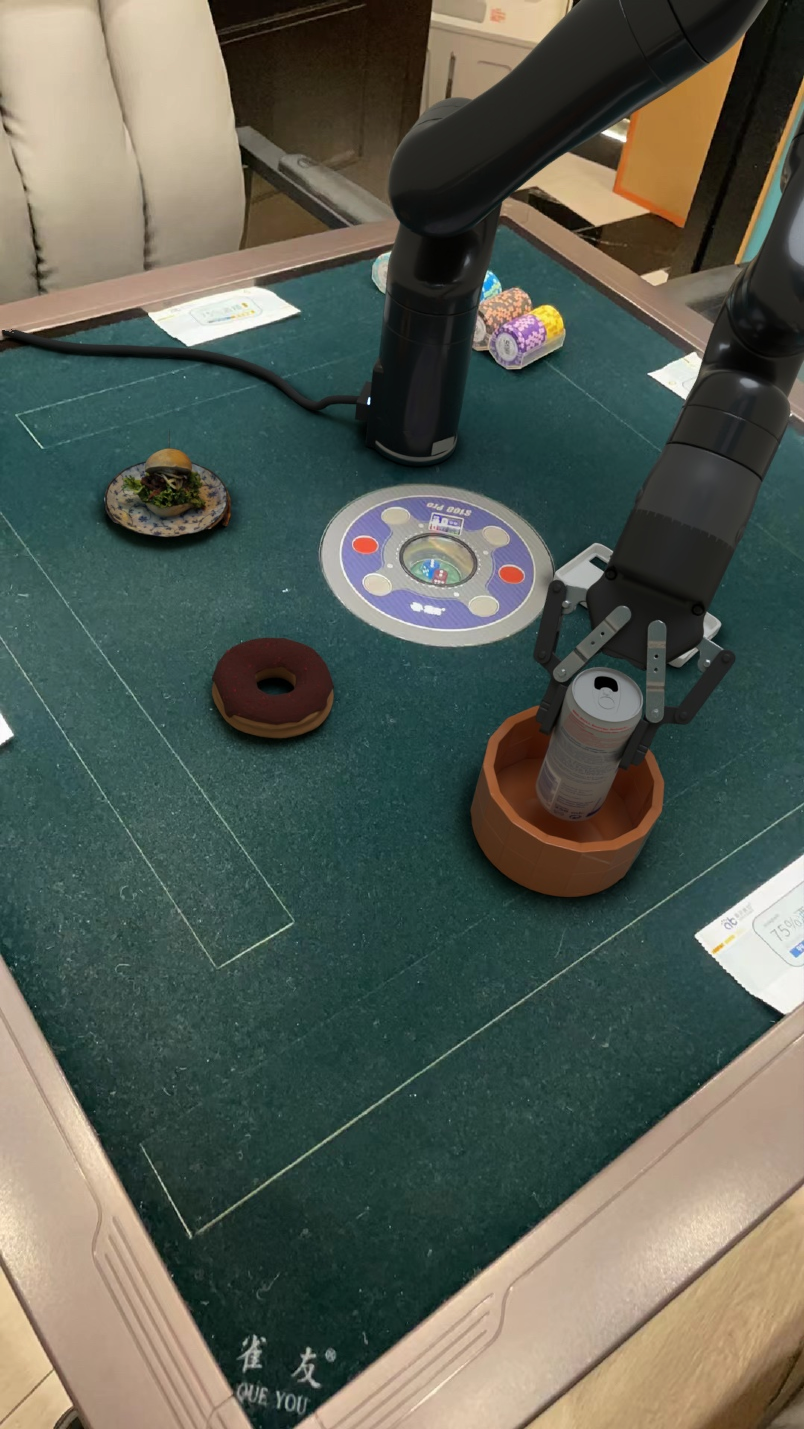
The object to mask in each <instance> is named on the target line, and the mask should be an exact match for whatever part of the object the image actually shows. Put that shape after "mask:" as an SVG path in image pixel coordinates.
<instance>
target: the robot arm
mask: <svg viewBox="0 0 804 1429" xmlns="http://www.w3.org/2000/svg"><path fill="white" fill-rule="evenodd" d="M768 1H769V0H579V1H578V2H577V3H576V4H575V5H574V6H573V7H572V8H571V9H570V10H569V11H568V12H567V13H566V14H565V15H564V16H563V17H562V18H561V19H560V20H559V21H557V23H556V24H555V25H554V26H553V27H552V28H551V29H550V31H548V32H547V33H546V35H545V36H543V38H542V39H541V40H540V41H539V42H538V43H537V44H536V45H535V47H534V48H533V49H532V50H531V51H530V52H529V53H528V54H527V55H526V56H525V57H524V59H522V60H521V62H519V63H518V64H517V65H516V66H515V67H514V68H513V69H512V70H511V71H509V72H508V74H506V75H505V76H504V77H503V78H501V79H500V80H499V81H497V82H496V83H495V84H494V85H492V86H491V87H490V88H488V89H487V90H486V91H483V93H481V94H479V95H478V96H476V97H474V98H473V99H472V98H469V97H462V96H455V97H454V96H453V97H449V98H444V99H442V100H440V101H438V102H436V103H434V104H433V105H431V106H430V107H428V108H427V109H425V110H424V112H423V113H422V114H421V115H420V116H419V117H418V118H417V120H416V121H415V122H414V124H413V125H412V126H411V128H410V129H409V130H408V132H406V134H405V136H403V138H402V140H401V141H400V142H399V144H398V146H397V147H396V150H395V152H394V154H393V157H392V159H391V162H390V166H389V170H388V176H387V195H388V201H389V205H390V208H391V211H392V213H393V214H394V216H395V218H396V219H397V221H398V222H399V224H398V228H397V231H396V236H395V239H394V242H393V245H392V248H391V251H390V254H389V257H388V262H387V268H386V269H387V271H386V280H385V291H384V292H385V293H384V303H383V311H382V322H381V332H380V342H379V349H378V350H379V352H378V356H377V358H376V360H375V362H374V365H373V367H372V374H371V381H368V380H366V381H365V382H364V385H363V387H362V389H361V391H360V393H359V395H347V394H335V395H328V396H325V397H324V398H321V399H320V400H319V401H316V400H311V399H309V398H306V397H304V396H303V395H302V394H300V393H299V392H298V391H297V390H295V389H294V388H293V387H292V386H291V385H290V384H289V383H288V382H287V381H286V380H284V379H283V378H282V377H281V376H279V375H278V374H276V373H275V372H273V371H271V370H269V369H267V368H265V367H262V366H261V365H258V364H256V363H253V362H250V361H247V360H245V359H241V358H239V357H236V356H231V355H227V354H223V353H218V352H213V351H209V350H203V349H197V348H189V347H188V348H187V347H175V346H174V347H171V346H146V345H131V344H100V343H99V344H97V343H95V344H94V343H93V344H92V343H79V342H71V341H70V342H69V341H63V340H58V339H53V338H48V337H43V336H39V335H36V334H32V333H29V332H27V331H26V332H25V331H22V330H19V329H15V330H12V329H13V328H12V329H11V330H12V331H11V332H9V331H5V330H2V329H1V335H2V336H4V337H7V338H11V339H14V340H15V339H16V340H19V341H23V342H26V343H29V344H32V345H36V346H40V347H45V348H49V349H52V350H59V351H64V352H65V351H66V352H74V353H81V354H106V355H107V354H108V355H109V354H110V355H112V354H113V355H137V356H139V355H140V356H157V357H159V356H161V357H178V358H179V357H181V358H192V359H200V360H205V361H209V362H210V361H211V362H216V363H220V364H225V365H229V366H232V367H235V368H239V369H241V370H245V371H248V372H250V373H252V374H255V375H257V376H260V377H262V378H264V379H266V380H268V381H270V382H272V383H273V384H274V385H276V386H277V387H278V388H279V389H281V391H283V392H284V393H285V394H286V396H288V397H289V398H290V399H292V400H293V401H294V402H295V403H297V404H298V405H299V406H301V407H303V408H305V409H308V410H311V411H322V410H324V409H326V408H327V407H330V406H332V405H355V413H354V414H355V415H354V421H359V422H363V423H366V424H367V426H366V434H365V446H366V447H368V448H372V449H375V450H376V451H377V452H378V453H379V454H380V455H382V456H383V457H384V458H387V459H388V460H390V461H392V462H396V463H398V464H402V465H407V466H415V467H425V466H426V467H427V466H432V465H436V464H439V463H442V462H443V461H445V460H447V459H448V458H450V457H451V456H452V455H453V454H454V452H455V450H456V447H457V441H458V432H459V424H460V418H461V413H462V407H463V403H464V396H465V391H466V385H467V379H468V374H469V368H470V364H471V363H470V362H471V357H472V351H473V346H474V340H475V334H476V327H477V322H478V316H479V312H480V305H481V300H482V299H481V298H482V293H483V289H484V283H485V280H486V276H487V274H488V269H489V266H490V263H491V260H492V256H493V252H494V249H495V248H494V247H495V241H496V237H497V233H498V226H499V221H500V216H501V212H502V206H503V202H504V201H506V199H508V198H510V196H511V195H512V194H514V193H515V192H517V190H518V189H520V188H521V187H523V185H525V184H526V183H527V182H529V181H530V179H532V178H534V177H535V176H536V175H537V174H539V172H541V171H543V169H545V168H546V167H548V166H549V165H551V164H552V163H553V162H554V161H556V160H558V159H559V158H560V157H562V156H564V155H566V154H567V153H569V152H570V151H572V150H574V149H575V148H578V147H579V146H581V145H583V144H584V143H586V142H588V141H590V140H591V139H593V138H595V137H597V136H598V135H600V134H602V133H603V132H605V131H607V130H609V129H610V128H612V127H613V126H615V125H616V124H618V123H620V122H622V121H623V120H625V119H626V118H628V117H630V116H631V115H633V114H634V113H637V112H638V111H639V110H641V109H642V108H645V106H648V105H649V104H650V103H652V102H654V101H655V100H657V99H658V98H660V97H662V96H664V95H665V94H667V93H669V92H670V91H672V90H673V89H675V88H676V87H678V86H679V85H680V84H682V83H684V82H686V81H687V80H688V79H690V78H691V77H692V76H694V75H696V74H697V73H699V72H700V71H702V70H703V69H705V68H707V67H708V66H709V65H710V64H711V63H714V62H715V61H716V60H718V59H719V58H720V57H722V56H723V55H724V54H726V53H728V51H730V50H731V49H732V48H733V47H734V46H736V44H737V43H738V42H739V41H740V40H741V38H743V36H744V35H745V34H746V33H747V32H748V30H749V29H750V28H751V26H752V25H753V23H754V22H755V21H756V19H757V18H758V16H759V14H760V13H761V12H762V10H763V9H764V7H765V6H766V4H767V3H768ZM779 189H780V193H781V195H780V199H779V200H778V204H777V206H776V209H775V211H774V215H773V218H772V219H771V220H772V221H771V223H770V225H769V228H768V231H767V232H766V234H765V237H764V238H763V241H762V244H761V245H760V248H759V249H758V252H757V253H756V255H755V256H754V257H753V258H752V259H751V260H750V262H748V264H746V266H744V267H743V269H742V270H741V271H740V272H739V273H738V274H737V276H736V277H735V279H734V280H733V281H732V283H731V285H730V287H729V289H728V291H727V293H726V295H725V297H724V298H723V301H722V303H721V306H720V307H719V309H718V312H717V315H716V318H715V320H714V322H713V325H712V329H711V331H710V334H709V337H708V340H707V344H706V346H705V349H704V353H703V355H702V358H701V363H700V365H699V370H698V373H697V376H696V379H695V381H694V383H693V385H692V387H691V388H690V391H689V392H688V394H687V395H686V397H685V399H684V402H683V404H682V406H681V408H680V410H679V413H678V415H677V417H676V418H675V422H674V424H673V426H672V429H671V431H670V433H669V435H668V437H667V439H666V442H665V444H664V446H663V448H662V450H661V451H660V454H659V455H658V457H657V458H656V460H655V462H654V463H653V464H652V467H651V468H650V470H649V471H648V473H647V475H646V477H645V480H644V482H643V484H642V486H641V488H640V489H639V490H638V492H637V494H636V495H635V498H634V500H633V506H632V509H631V511H630V513H629V515H628V517H627V520H626V522H625V524H624V526H623V527H622V528H623V529H622V530H621V532H620V535H619V537H618V540H617V542H616V544H615V546H614V549H613V550H612V551H613V553H612V555H610V560H609V562H608V564H607V563H606V567H605V568H604V573H603V575H602V576H601V577H600V579H599V580H598V581H596V582H595V583H594V584H593V585H591V586H590V587H589V588H584V587H579V586H574V585H569V584H565V583H564V582H562V581H561V580H554V581H553V580H552V581H551V582H549V584H548V587H547V592H546V596H545V600H544V605H543V608H542V609H543V610H542V614H541V619H540V623H539V628H538V632H537V636H536V641H535V645H534V650H533V654H532V655H533V659H534V662H536V663H537V664H539V665H540V666H541V667H542V668H543V669H544V670H546V672H547V673H548V674H549V678H550V680H549V683H548V686H547V688H546V690H545V693H544V695H543V697H542V700H541V702H540V704H539V705H538V706H539V708H538V711H537V713H536V722H538V723H540V724H542V725H541V727H540V729H539V732H540V733H542V734H544V735H547V736H550V734H551V733H552V731H553V729H554V726H555V724H556V721H557V718H558V715H559V712H560V709H561V706H562V704H563V701H564V698H565V695H566V692H567V689H568V687H569V685H570V684H571V683H572V681H573V680H574V679H575V678H576V677H577V675H578V674H580V673H581V672H582V671H583V670H584V669H585V668H586V667H587V666H588V665H589V664H590V663H592V662H593V661H594V660H595V659H596V658H598V657H599V655H601V653H602V654H603V655H605V656H608V657H611V658H613V659H618V660H625V661H626V662H627V663H629V664H630V665H631V666H633V667H634V668H636V669H639V670H640V671H643V672H645V671H646V683H645V684H646V685H645V687H646V688H645V692H646V693H645V694H646V695H645V713H644V715H643V717H641V718H640V720H639V722H638V724H637V726H636V728H635V730H634V732H633V734H632V736H631V739H630V741H629V743H628V745H627V747H626V750H625V752H624V754H623V756H622V758H621V760H620V763H619V765H618V768H621V769H623V770H625V771H627V770H628V768H629V766H630V764H632V765H635V766H638V765H639V764H640V763H641V762H642V761H643V760H644V758H645V755H646V753H647V751H648V749H649V750H650V746H651V745H652V742H653V740H654V738H655V736H656V734H657V732H658V730H659V728H660V727H662V726H663V725H666V724H667V725H668V724H669V725H680V726H681V725H682V726H685V725H688V724H690V723H691V722H692V720H693V719H694V718H695V717H696V715H697V714H698V713H699V711H700V710H701V708H702V707H703V706H704V704H705V703H706V702H707V700H708V699H709V697H710V696H711V695H712V693H713V692H714V691H715V689H716V688H718V687H717V686H719V684H720V683H721V682H722V681H723V679H724V678H725V676H726V675H727V674H728V672H729V671H730V670H731V668H732V667H733V666H734V664H735V663H736V658H737V656H736V654H735V652H734V651H732V650H731V649H724V648H723V647H721V646H719V645H718V644H717V643H715V642H714V641H712V639H711V640H709V639H708V638H706V637H705V636H704V625H703V624H704V617H705V615H706V613H707V612H708V611H709V609H710V606H711V603H712V601H713V600H714V597H715V595H716V593H717V592H718V589H719V587H720V585H721V582H722V580H723V578H724V576H725V574H726V571H727V569H728V568H729V565H730V563H731V561H732V560H733V559H732V558H733V556H734V555H735V552H736V550H737V547H738V545H739V544H740V542H741V540H742V539H743V537H744V534H745V530H746V528H747V526H748V525H749V521H750V519H751V517H752V514H753V512H754V509H755V506H756V501H757V499H758V494H759V493H760V490H761V487H762V484H763V482H764V481H765V478H766V476H767V474H768V471H769V469H770V467H771V465H772V462H773V460H774V458H775V456H776V454H777V452H778V450H779V447H780V445H781V442H782V441H783V438H784V436H785V433H786V431H787V428H788V425H789V421H790V418H791V413H792V411H791V410H792V409H791V403H790V401H789V396H790V394H791V391H792V389H793V388H794V385H795V382H796V379H797V377H798V375H799V373H800V370H801V368H802V366H803V363H804V108H803V109H802V111H801V115H800V117H799V120H798V122H797V125H796V128H795V130H794V133H793V136H792V138H791V141H790V143H789V146H788V149H787V151H786V155H785V158H784V161H783V165H782V169H781V172H780V177H779ZM12 332H14V333H12ZM581 602H586V605H587V608H586V609H587V614H588V618H589V624H590V628H591V632H590V633H589V634H588V635H586V636H585V638H583V639H582V640H581V641H580V643H579V644H577V645H576V646H575V648H574V649H573V650H572V651H571V652H570V653H569V654H568V655H567V656H566V657H565V658H563V659H562V658H560V657H559V656H558V654H556V652H557V648H558V642H559V638H560V636H561V635H560V634H561V630H562V625H563V621H564V616H565V615H567V616H569V615H572V614H573V613H575V611H576V609H577V607H578V605H579V604H580V603H581ZM694 648H697V649H698V650H699V651H698V652H699V658H698V660H697V663H696V664H697V669H698V670H699V672H701V673H702V674H701V676H700V677H699V678H698V679H697V681H696V683H695V684H694V685H693V687H692V688H691V690H690V691H689V692H688V693H687V695H686V696H685V697H684V698H683V700H682V701H681V703H680V704H679V706H677V705H676V706H675V705H665V700H666V699H665V694H666V670H667V669H666V666H667V664H669V662H671V661H673V660H675V659H676V658H678V657H680V656H682V655H683V654H685V653H687V652H689V651H690V650H692V649H694Z"/></svg>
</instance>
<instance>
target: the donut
mask: <svg viewBox="0 0 804 1429" xmlns="http://www.w3.org/2000/svg"><path fill="white" fill-rule="evenodd" d="M330 672H331V671H330V670H329V667H328V665H327V663H326V662H325V661H324V659H323V658H322V656H321V655H320V654H319V653H318V652H317V651H316V650H315V649H314V648H312V647H311V646H310V645H309V646H308V645H306V644H305V643H302V642H300V641H299V642H298V641H295V640H292V639H289V638H286V637H258V638H254V639H250V640H245V641H243V642H240V643H238V644H235V645H234V646H231V648H230V649H227V650H226V652H224V654H222V656H221V658H219V660H218V661H217V664H216V666H215V668H214V671H213V674H212V677H211V678H212V679H211V681H213V684H212V688H211V693H212V694H211V695H212V699H213V702H214V704H215V706H216V707H217V709H218V711H219V713H220V714H221V716H222V718H223V719H224V720H225V721H226V723H228V724H229V725H230V726H231V727H233V728H235V729H236V730H238V731H240V732H243V733H245V734H247V735H248V734H249V735H252V736H256V737H261V738H271V739H285V738H286V739H287V738H292V737H298V736H301V735H304V734H306V733H308V732H311V731H313V730H315V729H317V728H318V727H319V726H320V725H321V724H323V723H324V722H325V720H326V719H327V718H328V716H329V714H330V713H331V710H332V707H333V705H334V704H333V703H334V698H335V696H334V689H335V686H334V682H333V679H332V676H331V675H332V674H331V673H330ZM272 678H273V679H274V678H275V679H282V680H284V681H287V682H288V683H290V684H291V685H292V686H293V690H291V691H289V692H286V693H280V694H268V693H266V692H264V691H263V690H261V689H259V686H258V683H259V682H261V681H263V680H268V679H272Z"/></svg>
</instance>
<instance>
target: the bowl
mask: <svg viewBox="0 0 804 1429" xmlns="http://www.w3.org/2000/svg"><path fill="white" fill-rule="evenodd" d="M539 706H540V705H535V706H532V707H530V708H527V709H525V710H523V711H520V712H518V713H516V714H514V715H511V716H508V717H507V718H506V719H505V720H504V721H503V723H501V725H500V726H498V728H497V729H496V730H495V731H494V732H493V734H491V736H490V737H489V738H488V741H487V745H486V747H485V748H486V749H485V751H484V755H483V758H482V763H481V766H480V770H479V773H478V777H477V779H476V780H477V781H476V784H475V789H474V793H473V797H472V800H471V806H470V820H471V825H472V830H473V833H474V836H475V839H476V841H477V843H478V845H479V848H480V849H481V851H482V852H483V853H484V855H485V857H486V858H487V859H488V860H489V861H490V863H491V864H492V865H493V866H494V867H495V868H497V870H499V871H500V872H501V873H502V874H503V875H505V876H506V877H507V878H508V879H509V880H512V881H513V882H515V883H517V884H518V885H520V886H522V887H525V888H526V889H528V890H531V891H534V892H537V893H541V894H543V895H548V896H553V897H561V898H562V897H563V898H574V897H575V898H577V897H578V898H579V897H585V896H590V895H594V894H597V893H600V892H602V891H605V890H607V889H609V888H611V887H612V886H614V885H615V884H616V883H618V882H619V881H621V879H623V878H624V877H625V876H626V874H627V873H628V872H629V870H630V869H631V868H632V866H633V864H634V863H635V862H636V860H637V859H638V857H639V855H640V854H641V852H642V850H643V848H644V847H645V845H646V842H647V841H648V839H649V837H650V835H651V833H652V831H653V830H654V828H655V825H656V823H657V821H658V820H659V818H660V816H661V814H662V812H663V806H664V805H663V804H664V793H665V780H664V778H663V775H662V773H661V769H660V768H659V765H658V762H657V760H656V757H655V754H654V753H653V752H652V751H651V750H650V748H649V749H648V751H647V753H646V755H645V758H644V760H643V761H642V762H641V763H640V764H639V765H638V766H635V765H632V764H630V766H629V768H628V770H627V771H625V770H623V769H621V768H619V769H618V771H617V774H616V776H615V778H614V780H613V783H612V785H611V787H610V790H609V792H608V794H607V796H606V799H605V801H604V803H603V806H602V808H601V809H600V811H599V812H598V813H597V814H596V815H595V816H593V817H591V818H589V819H586V820H583V821H567V820H563V819H560V818H558V817H556V816H554V815H552V814H551V813H549V812H548V811H547V810H546V809H545V808H544V807H543V806H542V805H541V803H540V802H539V800H538V798H537V795H536V790H535V785H536V780H537V777H538V774H539V771H540V768H541V765H542V763H543V760H544V757H545V754H546V751H547V748H548V745H549V742H550V739H551V736H552V733H553V731H552V733H551V734H550V736H547V735H544V734H542V733H540V732H539V729H540V727H541V725H542V724H540V723H538V722H536V713H537V711H538V708H539ZM554 727H555V726H554ZM553 730H554V729H553Z"/></svg>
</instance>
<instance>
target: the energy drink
mask: <svg viewBox="0 0 804 1429" xmlns="http://www.w3.org/2000/svg"><path fill="white" fill-rule="evenodd" d="M643 704H644V696H643V692H642V690H641V688H640V686H639V685H638V684H637V682H636V681H635V680H634V679H633V678H631V677H630V676H629V675H627V674H626V673H625V672H622V671H620V670H617V669H614V668H611V667H605V666H604V667H603V666H596V667H590V668H587V669H585V670H584V669H583V670H581V671H580V672H579V673H578V674H577V675H576V676H575V677H574V678H573V679H572V681H571V683H570V685H569V687H568V689H567V692H566V695H565V698H564V701H563V704H562V706H561V709H560V712H559V715H558V718H557V721H556V724H555V727H554V730H553V733H552V736H551V739H550V742H549V745H548V748H547V751H546V754H545V757H544V760H543V763H542V765H541V768H540V771H539V774H538V777H537V780H536V785H535V790H536V795H537V798H538V800H539V802H540V803H541V805H542V806H543V807H544V808H545V809H546V810H547V811H548V812H549V813H551V814H552V815H554V816H556V817H558V818H560V819H563V820H567V821H583V820H586V819H589V818H591V817H593V816H595V815H596V814H597V813H598V812H599V811H600V809H601V808H602V806H603V803H604V801H605V799H606V796H607V794H608V792H609V790H610V787H611V785H612V783H613V780H614V778H615V776H616V774H617V771H618V769H619V768H618V765H619V763H620V760H621V758H622V756H623V754H624V752H625V750H626V747H627V745H628V743H629V741H630V739H631V736H632V734H633V732H634V730H635V728H636V726H637V724H638V722H639V720H640V718H642V716H643V711H644V710H643V709H644V706H643Z"/></svg>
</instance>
